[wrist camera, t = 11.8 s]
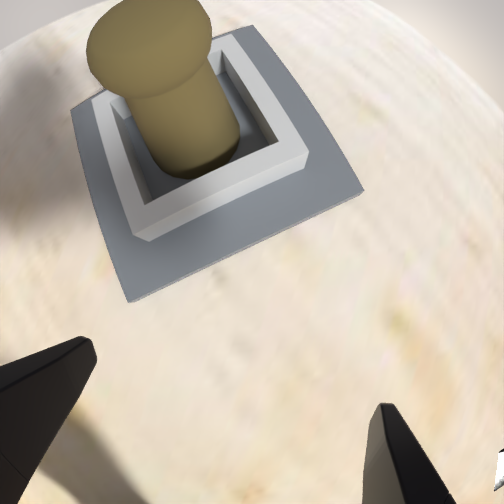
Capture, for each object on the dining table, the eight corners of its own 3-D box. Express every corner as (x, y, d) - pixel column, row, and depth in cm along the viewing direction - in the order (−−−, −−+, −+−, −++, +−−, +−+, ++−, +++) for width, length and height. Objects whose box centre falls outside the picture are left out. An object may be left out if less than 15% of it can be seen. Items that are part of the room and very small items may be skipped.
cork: (155, 190, 19) (56, 99, 8) (145, 113, 20) (73, 5, 9) (250, 165, 19) (231, 37, 8) (229, 89, 20) (204, -41, 9)
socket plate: (134, 302, 19) (109, 304, 16) (76, 115, 21) (54, 95, 18) (359, 195, 19) (377, 177, 16) (253, 32, 21) (251, 3, 18)
